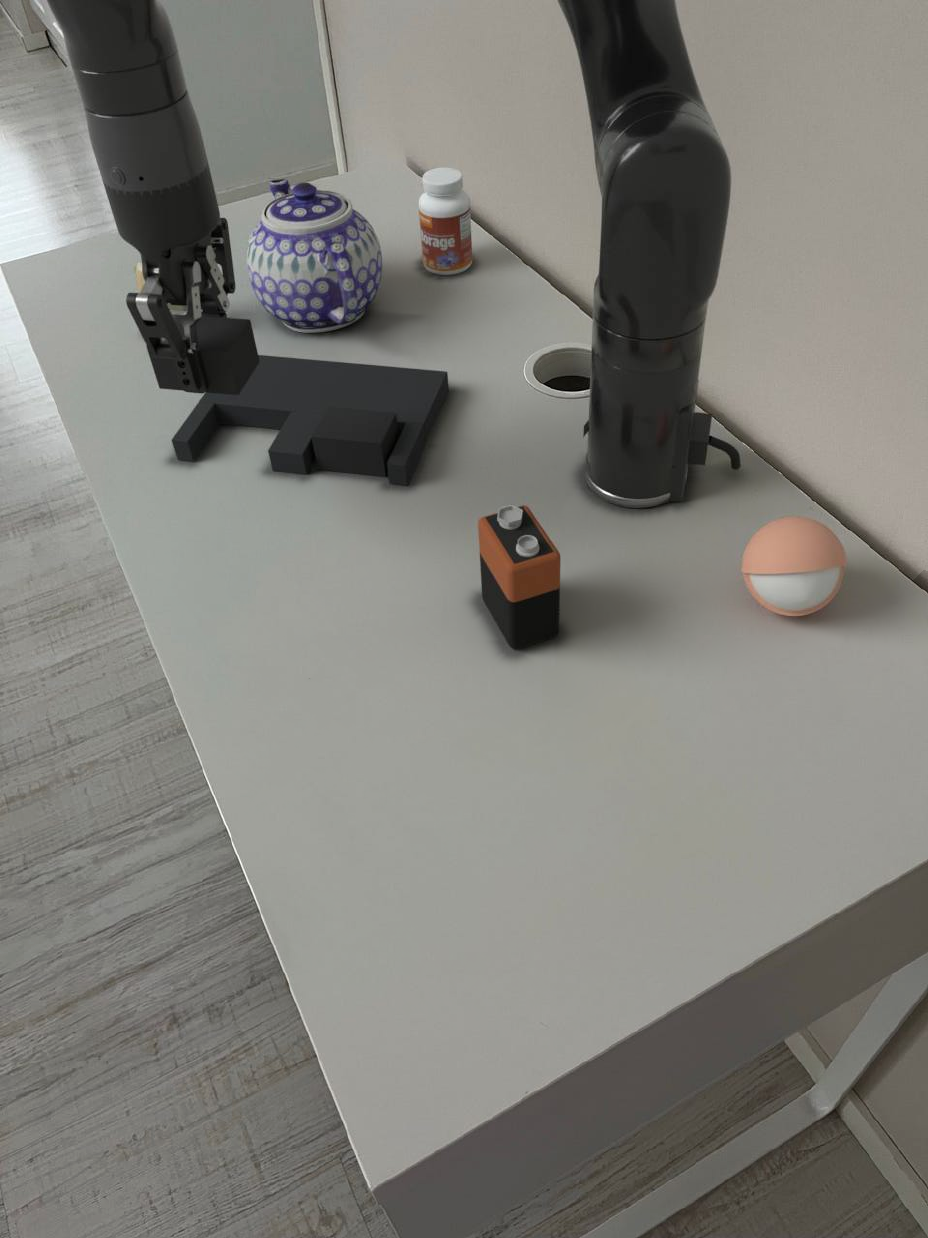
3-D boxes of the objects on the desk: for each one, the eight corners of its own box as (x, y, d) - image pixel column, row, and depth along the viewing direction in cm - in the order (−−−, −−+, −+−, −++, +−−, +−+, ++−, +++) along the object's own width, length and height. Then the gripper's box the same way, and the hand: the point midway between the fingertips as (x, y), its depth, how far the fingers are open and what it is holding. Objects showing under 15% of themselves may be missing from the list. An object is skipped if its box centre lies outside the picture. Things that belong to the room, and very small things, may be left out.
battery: (527, 583, 87) (526, 492, 80) (561, 637, 83) (563, 545, 76) (480, 598, 86) (474, 507, 79) (511, 653, 82) (509, 562, 75)
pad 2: (400, 446, 102) (396, 412, 99) (386, 477, 99) (381, 443, 96) (334, 439, 103) (328, 406, 100) (317, 469, 100) (311, 436, 97)
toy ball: (748, 638, 82) (764, 566, 76) (724, 572, 87) (737, 500, 81) (848, 630, 82) (871, 557, 76) (818, 564, 87) (837, 491, 81)
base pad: (449, 391, 108) (447, 371, 106) (407, 486, 97) (405, 465, 96) (238, 372, 113) (233, 352, 111) (177, 460, 102) (170, 439, 100)
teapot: (419, 346, 115) (407, 215, 104) (287, 380, 111) (259, 249, 100) (353, 251, 131) (336, 130, 120) (236, 278, 128) (208, 156, 117)
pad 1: (260, 361, 86) (250, 319, 83) (238, 395, 83) (227, 352, 80) (183, 355, 87) (171, 313, 85) (159, 388, 84) (145, 345, 81)
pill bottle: (414, 271, 127) (405, 181, 119) (438, 249, 130) (431, 161, 122) (458, 280, 124) (452, 190, 116) (481, 257, 128) (477, 168, 120)
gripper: (160, 211, 67) (219, 425, 79) (239, 126, 77) (281, 329, 89) (57, 206, 69) (130, 417, 81) (148, 123, 78) (201, 323, 90)
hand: (209, 370), depth 85 cm, fingers closed on pad 1, 5 cm apart
